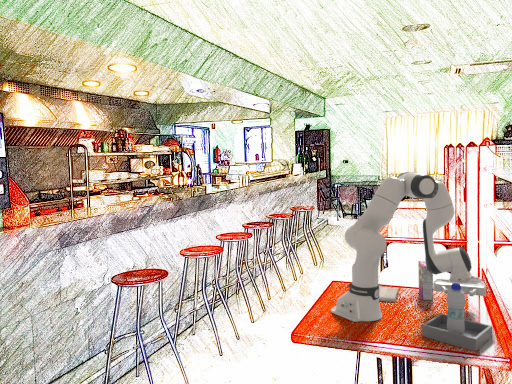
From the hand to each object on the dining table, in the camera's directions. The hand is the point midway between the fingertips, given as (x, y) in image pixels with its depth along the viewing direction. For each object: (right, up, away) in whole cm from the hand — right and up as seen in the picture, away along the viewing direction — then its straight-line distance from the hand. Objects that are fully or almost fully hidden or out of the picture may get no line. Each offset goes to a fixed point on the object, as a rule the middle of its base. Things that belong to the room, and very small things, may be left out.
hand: (458, 293), depth 185 cm
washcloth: (-18, -11, +40) cm, 46 cm away
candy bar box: (0, -10, +37) cm, 38 cm away
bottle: (-5, -14, -9) cm, 17 cm away
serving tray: (-5, -15, -9) cm, 18 cm away
